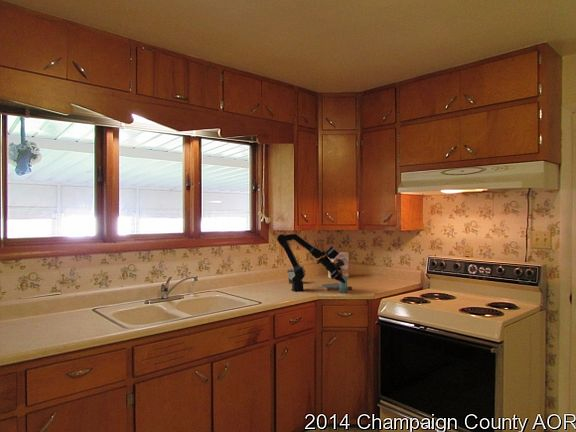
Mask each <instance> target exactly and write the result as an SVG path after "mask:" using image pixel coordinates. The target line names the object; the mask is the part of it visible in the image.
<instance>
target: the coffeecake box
mask: <svg viewBox="0 0 576 432" xmlns="http://www.w3.org/2000/svg"><path fill="white" fill-rule="evenodd" d="M338 252H339V251H338ZM349 255H350V254H349V252H345V251H342V252H341V251H340V252H339V254H338V255H337V256H336V257H335V258H334V259H330V258H329V257H328V256H327V257H328V258H329V259H330V260H331V261H332V262H334V263H337V262H338V260H339V259H341V260H343V261H344V264H345V265H343V266H340V267H341V268H342V269H341V270H342V274H343V276H347V279H348V278H349V276H350V275H349V273H350V272H349V271H350V270H349V263H350V262H349V257H350V256H349ZM341 270H340V271H341ZM327 271H328V270H327ZM330 275H331V274H330V272H329V271H328V275H327V276H328V278H329V279H332V278H331V277H330ZM334 278H335V277H334ZM334 278H333V279H332V280H335V279H334Z"/></svg>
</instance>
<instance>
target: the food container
mask: <svg viewBox="0 0 576 432" xmlns="http://www.w3.org/2000/svg"><path fill="white" fill-rule="evenodd" d="M286 273H287V279H288V284H289V285H292V278H293V277H294V276H295V273H294V268H289V269H287V271H286ZM301 281H303V279H302V280H301Z"/></svg>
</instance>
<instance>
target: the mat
mask: <svg viewBox="0 0 576 432" xmlns="http://www.w3.org/2000/svg"><path fill="white" fill-rule="evenodd" d="M321 286H322V287H324V288H327V287H339V283H337V282H334V283H333V282H331V283H324V284H321Z"/></svg>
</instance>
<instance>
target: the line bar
mask: <svg viewBox="0 0 576 432" xmlns="http://www.w3.org/2000/svg"><path fill="white" fill-rule="evenodd" d="M326 291H328V292H330V291H331V292H332V291H334V292H335V291H339V287H326ZM347 291H353V287H352V286H348V285H347Z"/></svg>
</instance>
